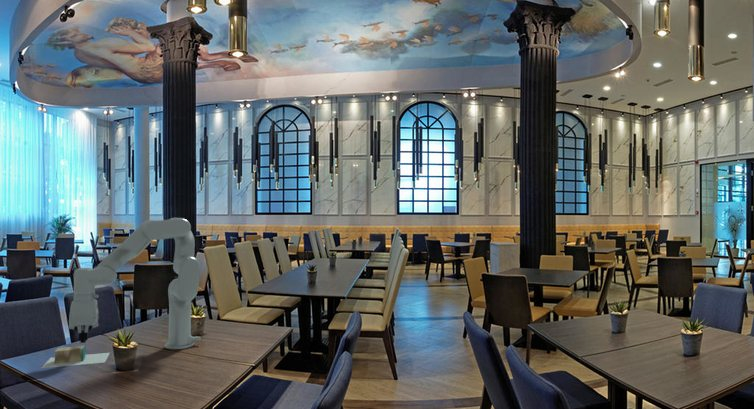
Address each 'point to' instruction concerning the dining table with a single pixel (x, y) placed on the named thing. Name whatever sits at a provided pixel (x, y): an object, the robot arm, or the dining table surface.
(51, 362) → the grey mat
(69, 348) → the oak block
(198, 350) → the dining table surface
